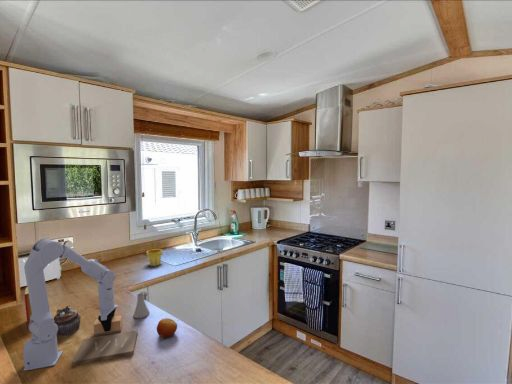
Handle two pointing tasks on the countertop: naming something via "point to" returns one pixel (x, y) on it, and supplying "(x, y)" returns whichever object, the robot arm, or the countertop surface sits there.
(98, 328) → the block
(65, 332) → the cupcake
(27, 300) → the baking soda box
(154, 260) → the plant pot
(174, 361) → the countertop surface
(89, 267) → the robot arm
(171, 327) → the fruit
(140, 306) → the flask
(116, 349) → the board
